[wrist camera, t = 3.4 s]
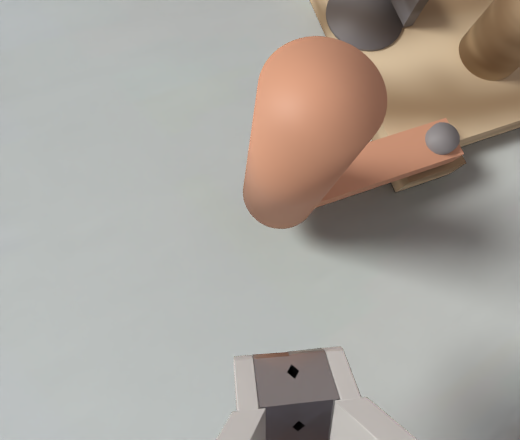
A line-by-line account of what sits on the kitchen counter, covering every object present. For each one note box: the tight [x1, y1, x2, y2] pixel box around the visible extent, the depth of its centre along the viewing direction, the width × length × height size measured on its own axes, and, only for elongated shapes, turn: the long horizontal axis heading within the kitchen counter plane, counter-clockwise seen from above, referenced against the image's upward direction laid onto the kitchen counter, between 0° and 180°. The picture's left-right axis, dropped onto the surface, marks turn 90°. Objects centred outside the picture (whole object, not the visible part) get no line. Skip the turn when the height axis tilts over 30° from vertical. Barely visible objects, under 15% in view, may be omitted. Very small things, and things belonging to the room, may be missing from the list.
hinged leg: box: [243, 36, 464, 229], centre depth 18 cm, size 13×4×11 cm, turn 110°
